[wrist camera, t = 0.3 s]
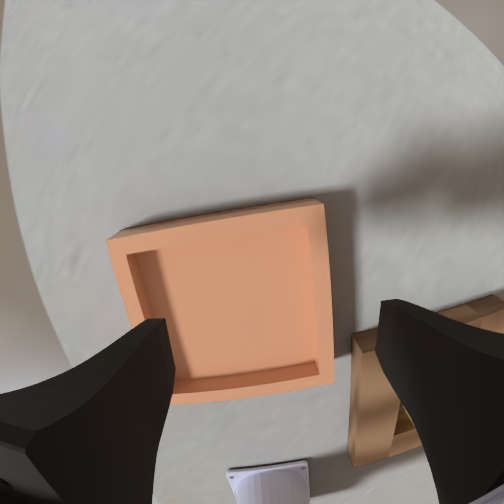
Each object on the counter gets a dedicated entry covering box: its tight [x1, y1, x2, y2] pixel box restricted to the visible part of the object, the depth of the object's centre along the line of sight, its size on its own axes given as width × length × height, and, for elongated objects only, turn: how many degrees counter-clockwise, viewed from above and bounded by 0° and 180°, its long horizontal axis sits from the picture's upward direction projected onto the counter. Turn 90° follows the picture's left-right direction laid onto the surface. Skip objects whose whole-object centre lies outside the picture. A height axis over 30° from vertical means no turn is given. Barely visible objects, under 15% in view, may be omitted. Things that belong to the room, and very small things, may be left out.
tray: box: [106, 198, 334, 405], centre depth 20 cm, size 12×12×2 cm
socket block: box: [347, 295, 504, 468], centre depth 23 cm, size 14×14×2 cm
